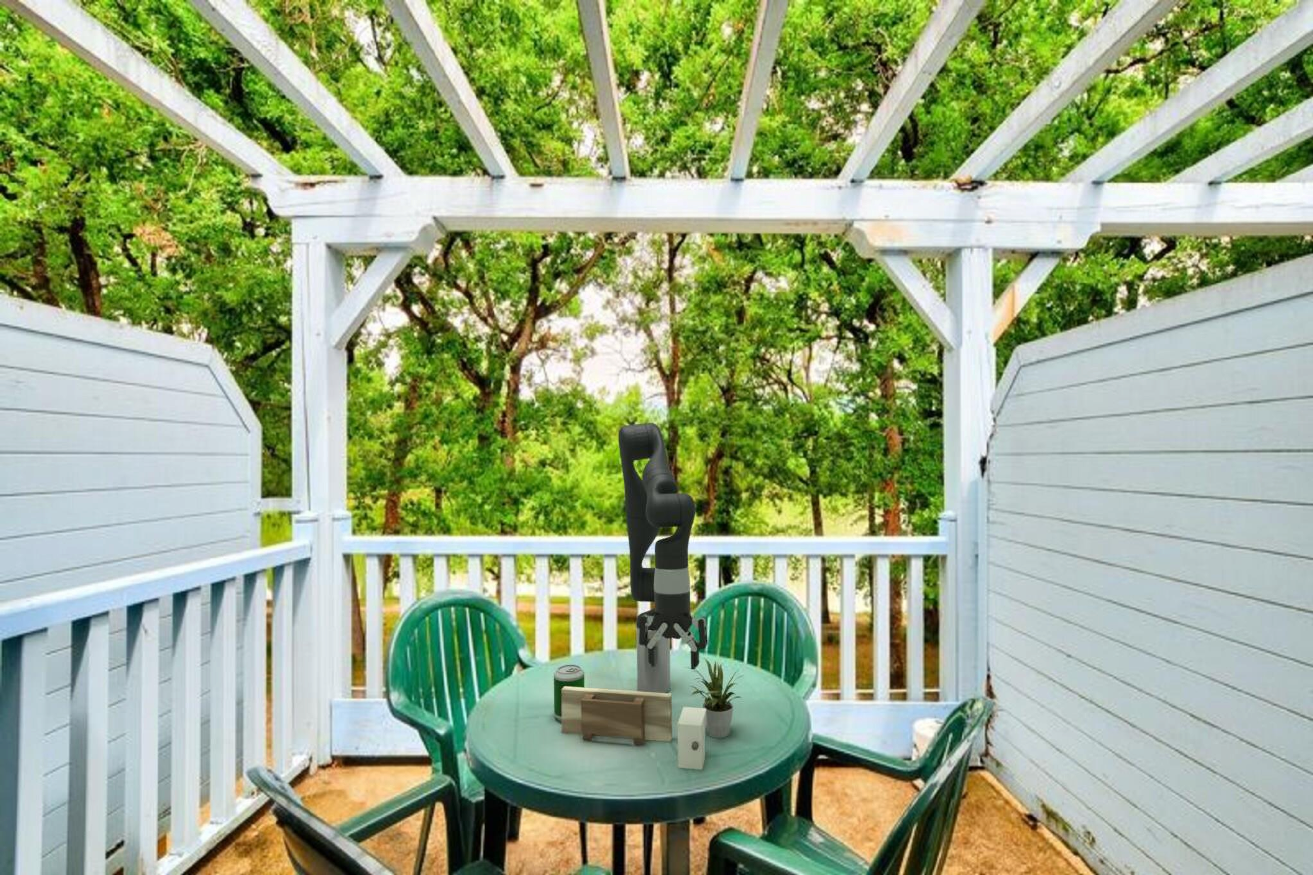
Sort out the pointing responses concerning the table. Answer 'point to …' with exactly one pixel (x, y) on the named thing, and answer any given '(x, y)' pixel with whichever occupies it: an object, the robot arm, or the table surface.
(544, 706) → the table surface
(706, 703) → the house plant
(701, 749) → the cabinet
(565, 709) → the wall board
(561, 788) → the table surface
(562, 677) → the soda can
